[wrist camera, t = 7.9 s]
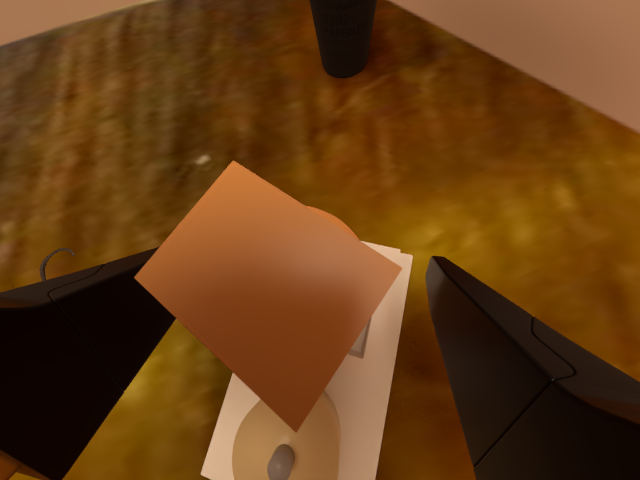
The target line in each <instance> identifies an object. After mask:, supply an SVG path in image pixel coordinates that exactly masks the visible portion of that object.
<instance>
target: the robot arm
mask: <svg viewBox="0 0 640 480" xmlns="http://www.w3.org/2000/svg"><path fill="white" fill-rule="evenodd" d="M158 249H159V247H157V248H154V249H151V250H148V251H144V252H141V253H138V254H134V255H131V256H128V257H124V258H121V259H118V260H115V261H111V262H108V263H106V264H101V265H98V266H95V267H91V268H88V269H85V270H81V271H78V272H74V273H71V274H67V275H64V276H60V277H56V278H53V279H49V280H45V281H42V282H38V283H34V284H31V285H27V286H23V287H19V288H16V289H12V290H8V291H5V292H1V293H0V480H9V479H10V478H11V477H12V476H13V475H14V474H15V473H16V472H18V473H22V474H25V475H28V476H31V477H35V478H38V479H41V480H62V479H63V478H64V477H65V475H66V474H67V473H68V471H69V470H70V468H71V467H72V466H73V464H74V463H75V461H76V460H77V458H78V457H79V456H80V454H81V453H82V451H83V450H84V449H85V447H86V446H87V444H88V443H89V441H90V440H91V439H92V437H93V436H94V434H95V433H96V432H97V430H98V429H99V427H100V426H101V424H102V423H103V422H104V420H105V419H106V417H107V416H108V415H109V413H110V412H111V410H112V409H113V407H114V406H115V405H116V403H117V402H118V400H119V399H120V397H121V396H122V395H123V393H124V391H125V390H126V389H127V387H128V386H129V384H130V383H131V382H132V380H133V379H134V377H135V376H136V374H137V373H138V372H139V370H140V369H141V367H142V366H143V365H144V363H145V362H146V360H147V359H148V357H149V356H150V355H151V353H152V352H153V350H154V349H155V348H156V346H157V345H158V343H159V342H160V340H161V339H162V338H163V336H164V335H165V333H166V332H167V331H168V329H169V328H170V326H171V325H172V323H173V322H174V321H175V319H176V317H175V316H174V315H172V314H171V313H170V312H169V311H168V310H167V309H166V308H165V307H164V306H163V305H162V304H161V303H160V302H159V301H158V300H157V299H156V298H155V297H154V296H153V295H152V294H151V293H150V292H148V291H147V290H146V289H145V288H144V287H143V286H142V285H141V284H140V283H139V282H138V281H137V280H136V279H135V278H134V277H135V276H136V275H137V273H138V272H139V271H140V270H141V269H142V268H143V266H144V265H145V264H146V263H147V262H148V260H149V259H150V258H151V257H152V256H153V255H154V253H155V252H156V251H157V250H158ZM426 286H427V292H428V299H429V306H430V312H431V317H432V321H433V325H434V328H435V332H436V335H437V339H438V342H439V346H440V350H441V353H442V357H443V360H444V364H445V368H446V371H447V375H448V378H449V382H450V385H451V389H452V393H453V396H454V400H455V403H456V407H457V411H458V414H459V418H460V421H461V425H462V428H463V432H464V436H465V439H466V443H467V446H468V450H469V454H470V457H471V461H472V464H473V467H475V468H474V472H475V476H476V479H477V480H640V382H639V381H637V380H636V379H634V378H632V377H630V376H629V375H627V374H625V373H624V372H622V371H620V370H619V369H617V368H615V367H614V366H612V365H610V364H609V363H607V362H605V361H604V360H602V359H600V358H599V357H597V356H595V355H594V354H592V353H590V352H589V351H587V350H585V349H584V348H582V347H581V346H579V345H577V344H576V343H574V342H572V341H571V340H569V339H567V338H566V337H564V336H563V335H561V334H560V333H558V332H557V331H555V330H553V329H552V328H550V327H549V326H547V325H546V324H544V323H543V322H541V321H540V320H538V319H537V318H535V317H532V315H531V314H529V313H528V312H526V311H525V310H523V309H522V308H520V307H519V306H517V305H516V304H514V303H513V302H511V301H510V300H508V299H507V298H505V297H504V296H502V295H501V294H499V293H497V292H496V291H494V290H493V289H491V288H490V287H488V286H487V285H485V284H484V283H482V282H481V281H479V280H478V279H476V278H475V277H473V276H472V275H470V274H469V273H467V272H466V271H464V270H463V269H461V268H460V267H458V266H457V265H455V264H454V263H452V262H451V261H449V260H448V259H446V258H445V257H441V256H432V257H431V259H430V261H429V265H428V268H427V272H426Z"/></svg>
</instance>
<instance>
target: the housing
mask: <svg viewBox="0 0 640 480" xmlns="http://www.w3.org/2000/svg"><path fill="white" fill-rule="evenodd" d="M361 242H363V241H361ZM363 243H364V244H366V245H367V246H369V247H370V248H372V249H374V250H375V251H377V252H378V253H380V254H381V255H383V256H385V257H386V258H388V259H389V260H391V261H392V262H394V263H396V264H397V265H399V266H400V267H402V270H401V272H400V273H399V275H398V276H397V278H396V279H395V281H394V282H393V284H392V286H391V287H390V289H389V290H388V292H387V293H386V295H385V296H384V298H383V299H382V301H381V303H380V304H379V306H378V307H377V309H376V310H375V312H374V313H373V315H372V317H371V318H370V320H369V321H368V323H367V324H366V326H365V327H364V329H363V330H362V332H361V334H360V335H359V337H358V338H357V340H356V341H355V343H354V344H353V346H352V348H351V349H350V351H349V352H348V354H347V355H346V357H345V358H344V360H343V361H342V363H341V365H340V366H339V368H338V369H337V371H336V372H335V374H334V375H333V377H332V379H331V380H330V382H329V383H328V385H327V386H326V388H325V389H324V391H323V392H322V394H321V396H320V397H319V399H318V400H317V402H316V403H315V405H314V406H313V408H312V410H311V411H310V413H309V414H308V416H307V417H306V419H305V420H304V422H303V424H302V425H301V427H300V428H299V430H298V431H297V433H296V432H295V431H293V430H292V429H291V428H290V427H289V426H288V425H287V424H286V423H285V422H284V421H283V420H282V419H281V418H280V417H279V416H278V415H277V414H276V413H275V412H274V411H273V410H272V409H271V408H269V407H268V406H267V405H266V404H265V403H264V402H263V401H262V400H261V399H260V398H259V397H258V396H257V395H256V394H255V393H254V392H253V391H252V390H251V389H250V388H249V387H248V386H247V385H245V384H244V383H243V382H242V381H241V380H240V379H239V378H238V377H237V376H236V375H235V374H234V373H233V374H232V377H231V380H230V383H229V386H228V389H227V393H226V396H225V399H224V402H223V405H222V408H221V412H220V415H219V418H218V421H217V424H216V427H215V431H214V434H213V437H212V440H211V443H210V446H209V450H208V453H207V456H206V459H205V462H204V465H203V469H202V472H201V475H203V476H205V477H207V478H209V479H211V480H375V477H376V472H377V466H378V460H379V454H380V448H381V442H382V436H383V430H384V424H385V418H386V412H387V406H388V401H389V395H390V389H391V383H392V377H393V371H394V365H395V359H396V353H397V347H398V341H399V336H400V330H401V324H402V318H403V312H404V306H405V300H406V294H407V288H408V282H409V276H410V271H411V265H412V259H413V255H408V254H404V253H400V249H395V248H391V247H386V246H382V245H377V244H372V243H368V242H363Z"/></svg>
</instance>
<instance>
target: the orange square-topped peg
mask: <svg viewBox="0 0 640 480" xmlns="http://www.w3.org/2000/svg"><path fill="white" fill-rule="evenodd" d="M401 270H402V267H400V266H399V265H397V264H396V263H394V262H392V261H391V260H389V259H388V258H386V257H385V256H383V255H381V254H380V253H378V252H377V251H375V250H374V249H372V248H370V247H369V246H367V245H366V244H364V243H363V242H361V241H359V239H358V238H357V236H356V235H355V234H354V233H353V231H352V230H351V229H350V228H349V227H348V226H347V225H346V224H344V223H343V222H342V221H341V220H339V219H338V218H336V217H335V216H333V215H331V214H329V213H327V212H325V211H322V210H320V209H317V208H313V207H309V206H304V205H303V204H301V203H300V202H298V201H296V200H295V199H293V198H292V197H290V196H289V195H287V194H285V193H284V192H282V191H281V190H279V189H278V188H276V187H274V186H273V185H271V184H270V183H268V182H267V181H265V180H263V179H262V178H260V177H259V176H257V175H255V174H254V173H252V172H251V171H249V170H248V169H246V168H244V167H243V166H241V165H240V164H238V163H237V162H235V161H232V162H231V164H230V165H229V166H228V167H227V168H226V169H225V171H224V172H223V173H222V174H221V175H220V177H219V178H218V179H217V180H216V181H215V182H214V184H213V185H212V186H211V187H210V188H209V190H208V191H207V192H206V193H205V194H204V195H203V197H202V198H201V199H200V200H199V201H198V203H197V204H196V205H195V206H194V207H193V208H192V210H191V211H190V212H189V213H188V214H187V216H186V217H185V218H184V219H183V220H182V221H181V223H180V224H179V225H178V226H177V227H176V229H175V230H174V231H173V232H172V233H171V234H170V236H169V237H168V238H167V239H166V240H165V242H164V243H163V244H162V245H161V246H160V247H159V249H158V250H157V251H156V252H155V253H154V255H153V256H152V257H151V258H150V259H149V260H148V262H147V263H146V264H145V265H144V266H143V268H142V269H141V270H140V271H139V272H138V273H137V275H136V276H135V277H134V278H135V279H136V280H137V281H138V282H139V283H140V284H141V285H142V286H143V287H144V288H145V289H146V290H147V291H148V292H150V293H151V294H152V295H153V296H154V297H155V298H156V299H157V300H158V301H159V302H160V303H161V304H162V305H163V306H164V307H165V308H166V309H167V310H168V311H169V312H170V313H171V314H172V315H174V316H175V317H176V318H177V319H178V320H179V321H180V322H181V323H182V324H183V325H184V326H185V327H186V328H187V329H188V330H189V331H190V332H191V333H192V334H193V335H194V336H195V337H196V338H197V339H199V340H200V341H201V342H202V343H203V344H204V345H205V346H206V347H207V348H208V349H209V350H210V351H211V352H212V353H213V354H214V355H215V356H216V357H217V358H218V359H219V360H220V361H221V362H223V363H224V364H225V365H226V366H227V367H228V368H229V369H230V370H231V371H232V372H233V373H234V374H235V375H236V376H237V377H238V378H239V379H240V380H241V381H242V382H243V383H244V384H245V385H247V386H248V387H249V388H250V389H251V390H252V391H253V392H254V393H255V394H256V395H257V396H258V397H259V398H260V399H261V400H262V401H263V402H264V403H265V404H266V405H267V406H268V407H269V408H271V409H272V410H273V411H274V412H275V413H276V414H277V415H278V416H279V417H280V418H281V419H282V420H283V421H284V422H285V423H286V424H287V425H288V426H289V427H290V428H291V429H292V430H293V431H295V432H296V433H297V431H298V430H299V428H300V427H301V425H302V424H303V422H304V420H305V419H306V417H307V416H308V414H309V413H310V411H311V410H312V408H313V406H314V405H315V403H316V402H317V400H318V399H319V397H320V396H321V394H322V392H323V391H324V389H325V388H326V386H327V385H328V383H329V382H330V380H331V379H332V377H333V375H334V374H335V372H336V371H337V369H338V368H339V366H340V365H341V363H342V361H343V360H344V358H345V357H346V355H347V354H348V352H349V351H350V349H351V348H352V346H353V344H354V343H355V341H356V340H357V338H358V337H359V335H360V334H361V332H362V330H363V329H364V327H365V326H366V324H367V323H368V321H369V320H370V318H371V317H372V315H373V313H374V312H375V310H376V309H377V307H378V306H379V304H380V303H381V301H382V299H383V298H384V296H385V295H386V293H387V292H388V290H389V289H390V287H391V286H392V284H393V282H394V281H395V279H396V278H397V276H398V275H399V273H400V272H401Z"/></svg>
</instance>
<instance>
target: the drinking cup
mask: <svg viewBox="0 0 640 480" xmlns="http://www.w3.org/2000/svg"><path fill="white" fill-rule="evenodd" d="M376 1H377V0H310V5H311V10H312V15H313V20H314V25H315V29H316V34H317V39H318V44H319V49H320V54H321V59H322V64H323V67H324V69H325V71H326V72H327V73H328V74H330V75H332V76H334V77H339V78H345V77H350V76H353V75H355V74H357V73H358V72H360V71H361V70H362V69H363V68H364V66H365V65H366V62H367V57H368V51H369V45H370V38H371V32H372V26H373V20H374V14H375V8H376Z"/></svg>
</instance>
